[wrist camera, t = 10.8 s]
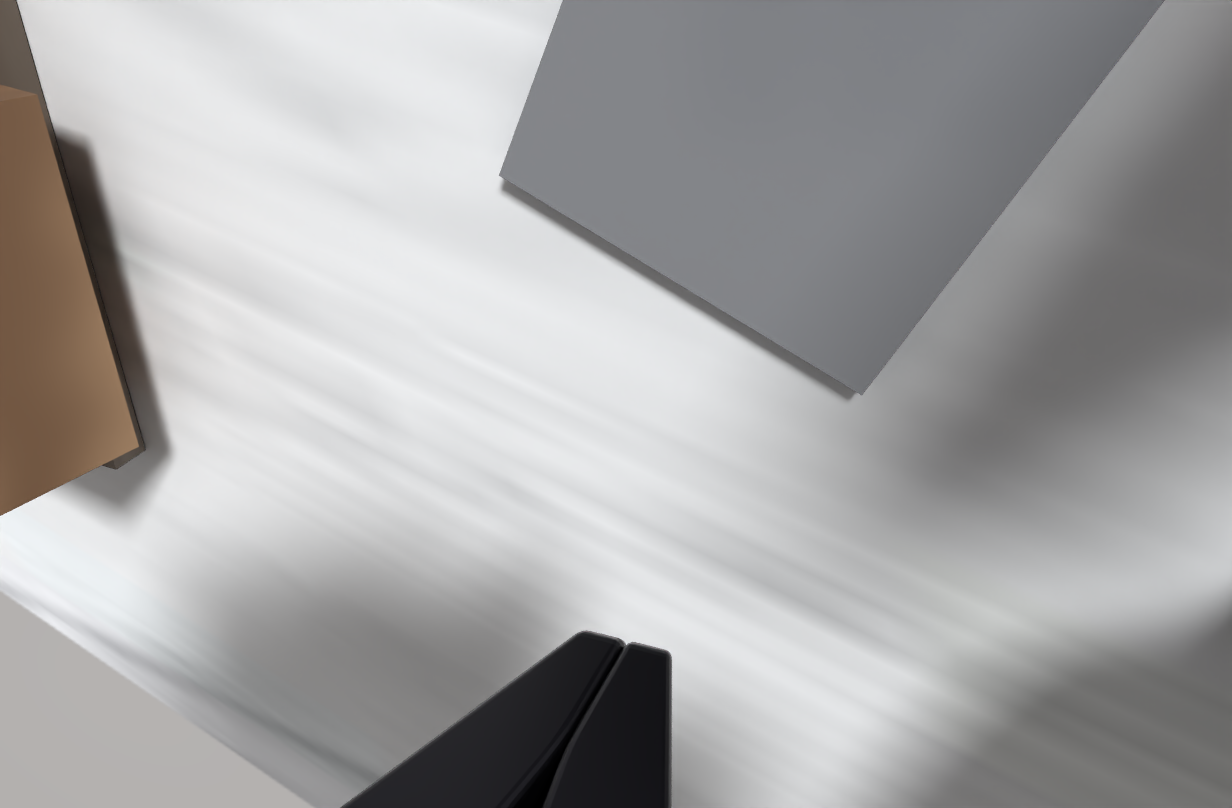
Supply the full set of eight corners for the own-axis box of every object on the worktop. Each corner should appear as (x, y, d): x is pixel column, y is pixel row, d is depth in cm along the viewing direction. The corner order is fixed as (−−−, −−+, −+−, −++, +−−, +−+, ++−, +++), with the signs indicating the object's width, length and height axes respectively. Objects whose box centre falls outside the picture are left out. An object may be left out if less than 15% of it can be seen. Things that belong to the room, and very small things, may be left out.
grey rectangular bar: (10, -16, 23) (-34, -11, 22) (145, 450, 30) (116, 469, 29) (-33, -21, 23) (-79, -15, 22) (110, 440, 31) (80, 458, 30)
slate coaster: (1183, -36, 14) (1188, -32, 14) (866, 382, 20) (861, 395, 19) (688, -308, 15) (677, -313, 15) (511, 168, 20) (498, 175, 20)
